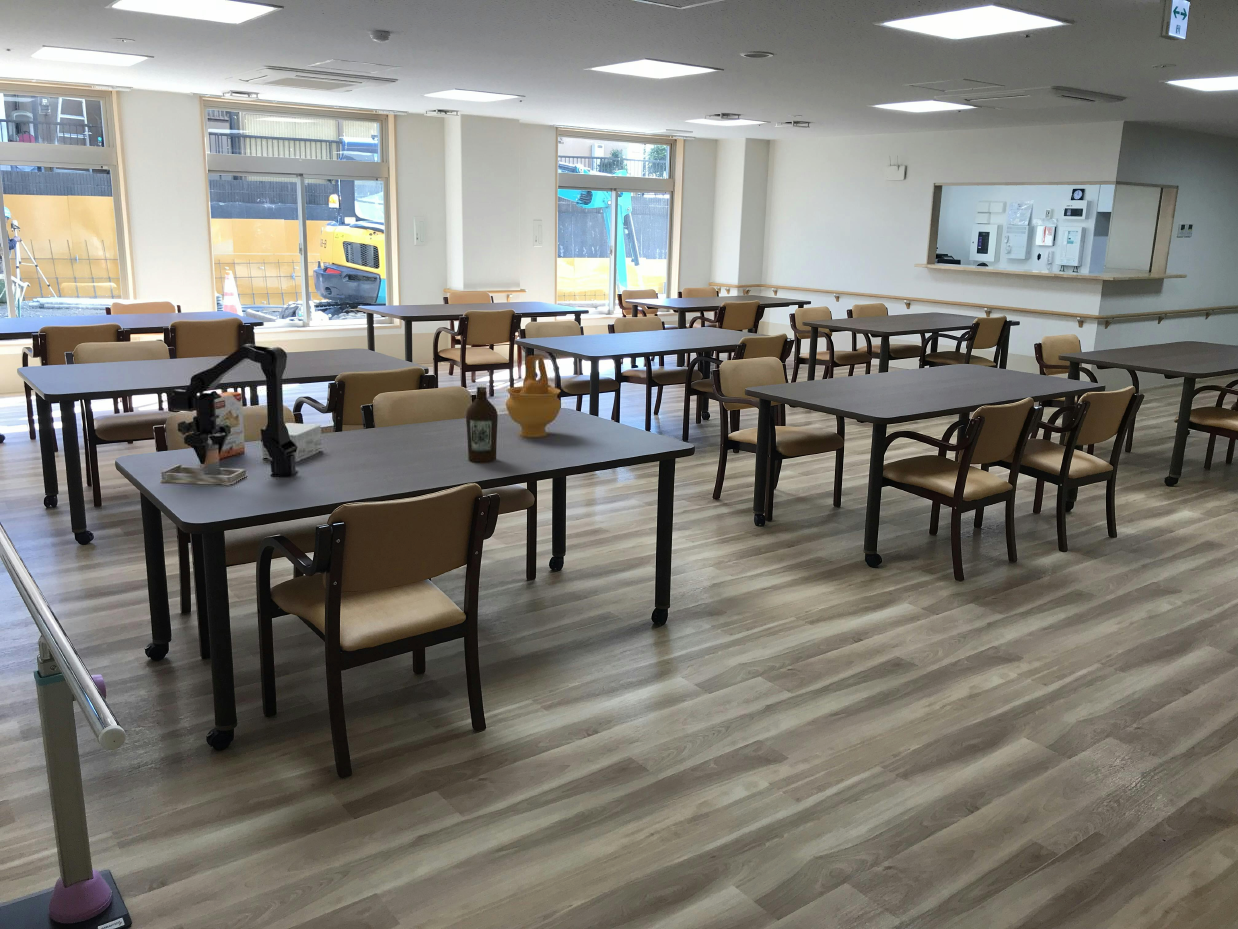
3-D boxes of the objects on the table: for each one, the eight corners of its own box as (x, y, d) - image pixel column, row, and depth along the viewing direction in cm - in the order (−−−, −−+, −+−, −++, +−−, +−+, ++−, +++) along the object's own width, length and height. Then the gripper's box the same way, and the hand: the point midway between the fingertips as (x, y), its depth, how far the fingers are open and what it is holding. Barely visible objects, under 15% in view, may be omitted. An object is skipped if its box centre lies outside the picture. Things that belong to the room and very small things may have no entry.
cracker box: (217, 461, 324) (212, 398, 319) (202, 459, 326) (197, 397, 321) (246, 452, 337) (242, 392, 332) (232, 450, 339) (228, 390, 334)
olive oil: (468, 456, 339) (467, 384, 333) (499, 456, 339) (498, 384, 333) (464, 463, 328) (463, 389, 322) (496, 463, 329) (496, 390, 323)
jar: (223, 468, 315) (221, 443, 313) (214, 472, 310) (212, 447, 308) (206, 467, 316) (204, 443, 314) (197, 471, 310) (195, 447, 308)
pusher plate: (219, 474, 305) (218, 461, 304) (208, 479, 298) (207, 466, 297) (216, 474, 305) (215, 461, 304) (204, 479, 298) (203, 466, 297)
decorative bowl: (494, 434, 374) (493, 356, 367) (529, 426, 391) (530, 351, 383) (537, 442, 362) (537, 361, 355) (572, 433, 379) (572, 356, 372)
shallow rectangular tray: (247, 476, 306) (246, 466, 305) (230, 485, 295) (229, 475, 295) (180, 472, 308) (179, 463, 307) (160, 481, 298) (159, 472, 297)
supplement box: (288, 448, 345) (286, 422, 343) (322, 451, 342) (321, 424, 340) (261, 459, 329) (259, 431, 327) (297, 462, 326) (295, 434, 324)
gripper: (197, 406, 318) (200, 453, 322) (165, 416, 300) (169, 466, 304) (229, 407, 317) (233, 454, 321) (199, 418, 299) (203, 468, 303)
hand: (209, 460), depth 312 cm, fingers open, 9 cm apart
